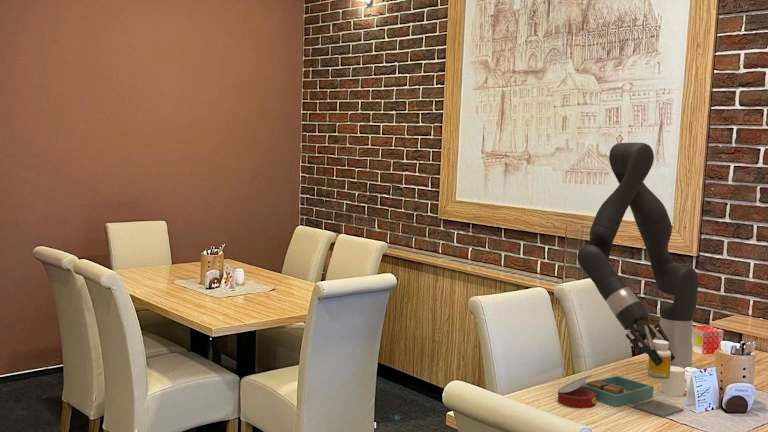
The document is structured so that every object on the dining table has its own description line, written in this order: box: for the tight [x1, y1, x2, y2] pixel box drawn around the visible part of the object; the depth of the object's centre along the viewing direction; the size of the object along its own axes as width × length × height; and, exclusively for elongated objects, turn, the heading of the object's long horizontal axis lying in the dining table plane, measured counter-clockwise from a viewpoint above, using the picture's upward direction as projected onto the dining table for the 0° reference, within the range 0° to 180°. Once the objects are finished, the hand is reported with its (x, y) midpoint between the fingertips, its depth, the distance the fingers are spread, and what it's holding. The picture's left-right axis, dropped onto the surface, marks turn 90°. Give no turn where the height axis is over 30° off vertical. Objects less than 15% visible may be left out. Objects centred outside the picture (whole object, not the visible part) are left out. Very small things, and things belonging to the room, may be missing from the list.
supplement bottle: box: [647, 339, 671, 382], centre depth 193 cm, size 5×5×10 cm
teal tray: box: [580, 374, 654, 408], centre depth 204 cm, size 16×12×3 cm
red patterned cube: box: [692, 325, 724, 355], centre depth 256 cm, size 8×8×8 cm
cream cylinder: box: [661, 366, 686, 397], centre depth 208 cm, size 7×7×7 cm
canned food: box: [557, 373, 597, 409], centre depth 198 cm, size 11×10×10 cm
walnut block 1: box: [586, 379, 609, 390], centre depth 203 cm, size 4×4×4 cm
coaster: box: [631, 399, 685, 418], centre depth 194 cm, size 9×9×1 cm
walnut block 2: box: [603, 384, 625, 395], centre depth 200 cm, size 4×4×4 cm
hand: (666, 362), depth 192 cm, fingers closed on supplement bottle, 5 cm apart
